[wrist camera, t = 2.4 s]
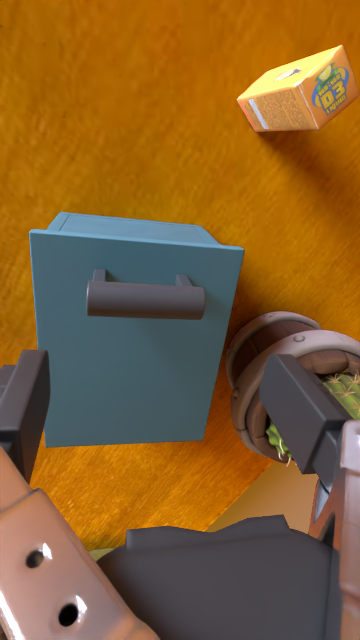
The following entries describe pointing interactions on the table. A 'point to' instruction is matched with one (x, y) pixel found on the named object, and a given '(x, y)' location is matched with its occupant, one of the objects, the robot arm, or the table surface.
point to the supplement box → (301, 93)
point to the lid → (130, 334)
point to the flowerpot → (311, 352)
